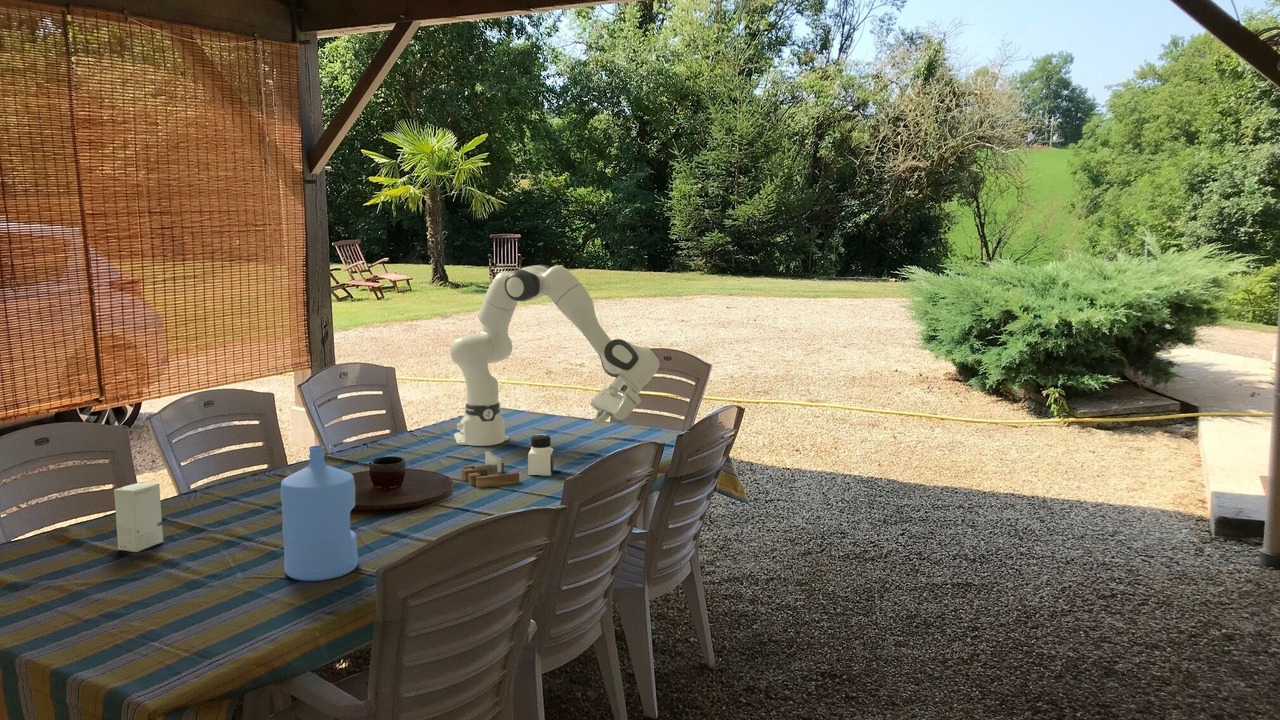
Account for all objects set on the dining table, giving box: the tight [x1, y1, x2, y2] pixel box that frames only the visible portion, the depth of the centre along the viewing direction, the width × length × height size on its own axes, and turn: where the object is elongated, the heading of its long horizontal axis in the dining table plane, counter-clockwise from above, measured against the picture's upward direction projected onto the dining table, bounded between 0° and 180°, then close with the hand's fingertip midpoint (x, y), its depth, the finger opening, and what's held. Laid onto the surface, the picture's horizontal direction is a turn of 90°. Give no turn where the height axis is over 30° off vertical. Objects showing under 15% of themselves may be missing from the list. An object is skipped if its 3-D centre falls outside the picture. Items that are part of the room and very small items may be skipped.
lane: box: [461, 461, 520, 489], centre depth 278 cm, size 15×14×3 cm
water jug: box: [279, 445, 359, 582], centre depth 203 cm, size 16×16×28 cm
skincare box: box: [113, 481, 164, 553], centre depth 217 cm, size 8×6×15 cm
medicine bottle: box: [527, 433, 555, 477], centre depth 285 cm, size 7×7×12 cm
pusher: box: [475, 450, 502, 476], centre depth 277 cm, size 11×6×7 cm, turn 28°
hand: (595, 423), depth 293 cm, fingers closed
